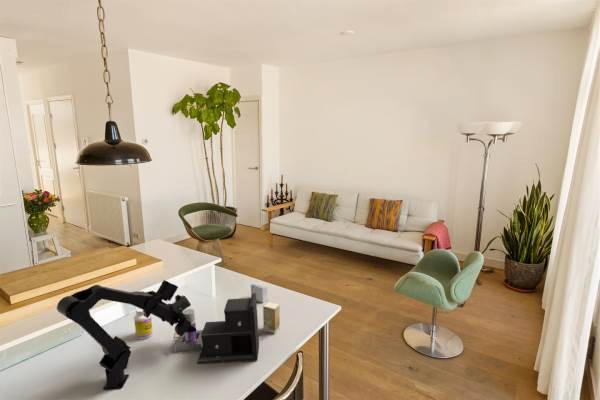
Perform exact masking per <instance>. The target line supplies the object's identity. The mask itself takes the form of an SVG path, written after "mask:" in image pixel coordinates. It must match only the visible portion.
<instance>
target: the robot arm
mask: <svg viewBox="0 0 600 400" xmlns="http://www.w3.org/2000/svg"><path fill="white" fill-rule="evenodd" d="M178 289H179V286H178V285H176V284H174V283H171V282H169V281H168V280H165V279H163V280H162V282H161V284H160V285H159V287H158V289H157V290H156V291H154V290H150V291H139V290H138V291H126V290H121V289H118V288H117V289H116V288H112V287H111V288H110V287H106V286H102V285H100V284H94V285H92V286H90V287H88V288H86V289H83V290H80V291H76V292H73V293H72V294H71V295H67V296H64V297H63V298H61V299H60V300H59V301H58V303H57V306H56V310H57V312H58V313H59V314H61V315H63V316H64V317H66V318H67V319H69V320H71V321H73V322H74V323H76V324H77V325H79V326H80V327H81V328H82V330H84V331H85V332H86V333H87V334H88V335H89V336H90V337H91V338H92V339H94V341H95V343H97V344H99V346H100V347H101V349H102V352H103V353H104V354H103V357H102V358H101V359H100V361H99V365H100V366H101V368H104V369H105V370H104V371H105V378H106V379H105V380H106V383H105V384H104V386H103V387H102V389H103V391H104V390H115V389H122V388H123V387H124V386H125V384H126V382H127V381H128V379H129V377H130V374H125V370H126V369H128V364H129V362H130V361H129V360H130V357H131V354H132V351H131V348H132V347H131V346H129V344H127V343H126V341H125V340H123V339H122V338H121V337H118V336H117V335H115V336H114V337H112V336H111V335H110V334H109V333H108V332H107V331H106V330H105V329H104V328H103V327H102V326H101V325H100V324H99V323H98V322H97V321H96V320H95V319H94V318H93V316H91V311H90V310H91V309H93V308H94V307H95V306H96V304H97V303H99V301H101V300H104V301H110V302H115V303H116V302H117V303H121V304H128V305H132V306H134V307H135V308H140V309H143V314H144V316H145V317H147V318H148V317H149V316H150V314H151V315H153V316H155V317H156V318H159V319H160V320H161V322H166V323H168V324H169V325H170V326H171V327H173V326H174V325H175V326H174V332H175V334H176V333H177V335H179V336H183V334H184V333H186V332H195V331H197V330H198V329H197V327H196V328H195V327H194V326H192V325H191V321H190V319H189V318H187V317H183V311H184V310H187V309H188V308H190V307H191V306H192V305H191V302H190V301H189V299H188V298H187V297H186V296H185V295H184V294H183V295H180V294H177V295H175V293H176V292H177V291H178ZM174 295H175V296H174ZM173 297H174V299H175V301H174V302H172V303H166V302H168V301H169V302H171V300H172V299H173ZM164 301H165V302H164Z"/></svg>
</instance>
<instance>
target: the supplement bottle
mask: <svg viewBox="0 0 600 400" xmlns="http://www.w3.org/2000/svg"><path fill="white" fill-rule="evenodd" d="M135 313H136V314H135V315H134V317H133V320H134V329H135V336H136V339H138V340H146V339H148V338H150V337H152V335H153V333H154V331H153V323H152V314H150V316H149V317H148V318H147V317H145V316H144V314H143V309H140V308H138V307H136V309H135Z"/></svg>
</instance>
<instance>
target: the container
mask: <svg viewBox="0 0 600 400" xmlns="http://www.w3.org/2000/svg"><path fill="white" fill-rule="evenodd" d="M183 317H187V318H189V319H190V321H191V325H192V326H194V327H195V328H196V329H197V327H196V315H195V309H193V308H186V309H185V310H184V311H183ZM196 331H197V330H196ZM196 331H195V332H186V333H184V334H185V342H197V340H198V339H197V335H196Z"/></svg>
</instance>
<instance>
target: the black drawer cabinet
mask: <svg viewBox="0 0 600 400" xmlns="http://www.w3.org/2000/svg"><path fill="white" fill-rule="evenodd" d="M223 313H224V320H221V321H220V320H219V321H205V324H204V326H203V328H202V330H203V331H202V333H201V338H202V350H201V351H199V352H200V353H199V356H198V358H197V361H196V364H198V365H203V364H218V363H219V364H220V363H221V364H222V363H234V362H250V361H251V362H253V361H258V360H259V359H258V358H259V350H260V338H259V334H260V333H259V322H258V321H259V320H258V306H257V301H256V293H254V294H252V296H251V295H250V297H245V298H228V299H227V301H226V304H225V306H224V310H223Z"/></svg>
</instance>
